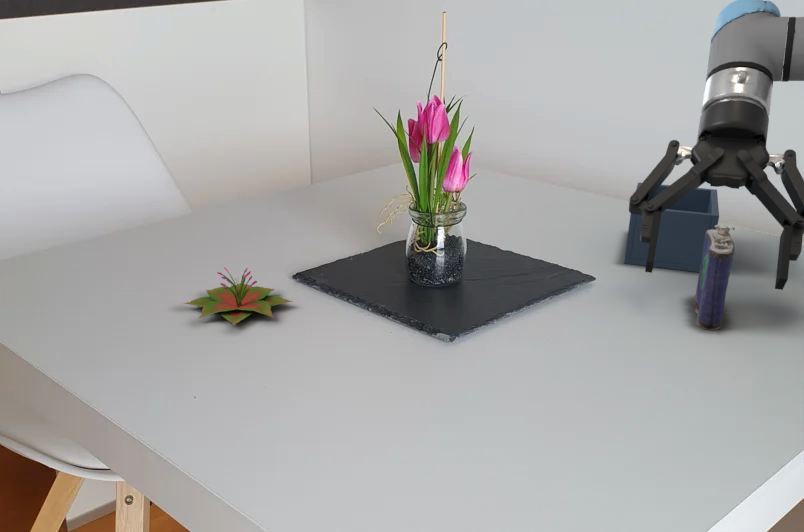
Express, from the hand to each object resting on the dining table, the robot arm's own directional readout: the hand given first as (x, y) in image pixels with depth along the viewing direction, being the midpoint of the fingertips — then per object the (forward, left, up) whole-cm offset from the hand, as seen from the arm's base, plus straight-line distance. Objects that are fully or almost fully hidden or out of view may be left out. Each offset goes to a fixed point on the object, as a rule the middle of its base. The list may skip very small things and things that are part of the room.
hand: (713, 275), depth 93 cm
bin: (+5, -23, -5) cm, 24 cm away
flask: (0, -2, -6) cm, 6 cm away
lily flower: (+51, +16, -6) cm, 54 cm away
